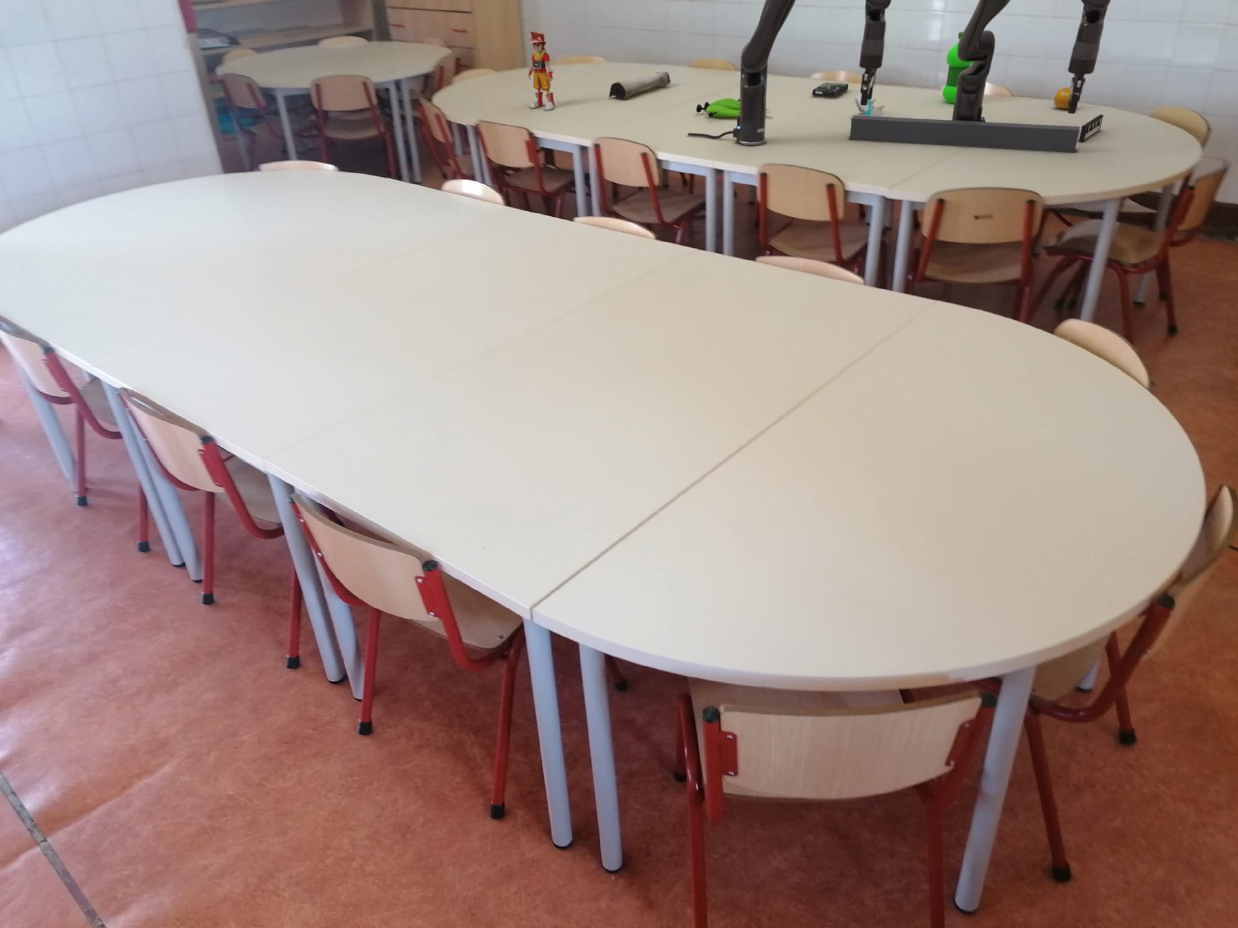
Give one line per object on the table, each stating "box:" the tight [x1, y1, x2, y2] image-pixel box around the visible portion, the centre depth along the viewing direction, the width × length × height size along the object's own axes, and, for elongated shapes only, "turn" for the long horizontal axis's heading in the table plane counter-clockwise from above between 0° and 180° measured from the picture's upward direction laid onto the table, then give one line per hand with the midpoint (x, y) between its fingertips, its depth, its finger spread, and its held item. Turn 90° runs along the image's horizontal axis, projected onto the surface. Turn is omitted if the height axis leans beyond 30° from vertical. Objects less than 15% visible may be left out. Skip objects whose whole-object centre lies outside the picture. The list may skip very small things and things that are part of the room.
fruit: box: [1053, 87, 1078, 110], centre depth 337 cm, size 8×8×8 cm
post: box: [849, 115, 1081, 153], centre depth 307 cm, size 73×4×7 cm, turn 67°
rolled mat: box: [608, 71, 672, 101], centre depth 395 cm, size 30×9×10 cm
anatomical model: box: [854, 95, 890, 117], centre depth 341 cm, size 15×10×10 cm
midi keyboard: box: [1078, 113, 1104, 142], centre depth 307 cm, size 18×1×5 cm, turn 138°
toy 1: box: [527, 31, 556, 111], centre depth 374 cm, size 12×9×30 cm
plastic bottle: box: [942, 31, 973, 104], centre depth 348 cm, size 10×10×25 cm
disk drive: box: [811, 82, 849, 99], centre depth 376 cm, size 10×3×15 cm
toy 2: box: [696, 97, 771, 118], centre depth 355 cm, size 28×5×30 cm
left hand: (866, 102), depth 313 cm, fingers open, 8 cm apart
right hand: (1071, 109), depth 291 cm, fingers open, 8 cm apart
